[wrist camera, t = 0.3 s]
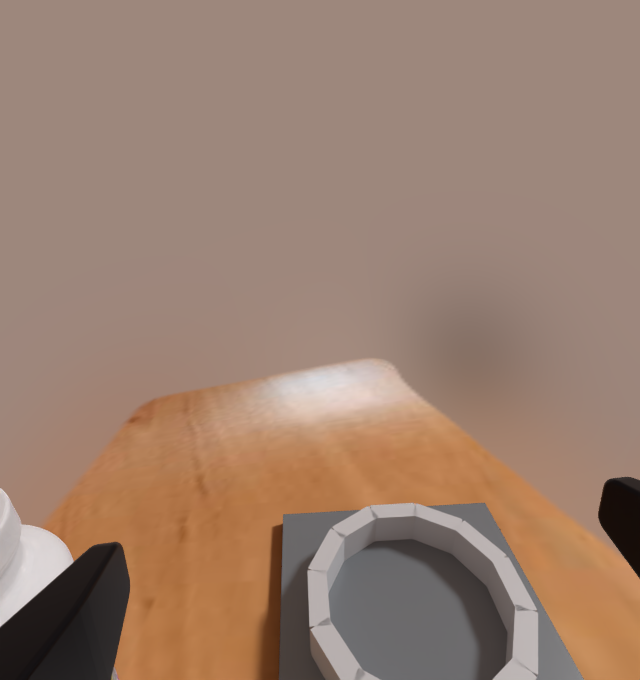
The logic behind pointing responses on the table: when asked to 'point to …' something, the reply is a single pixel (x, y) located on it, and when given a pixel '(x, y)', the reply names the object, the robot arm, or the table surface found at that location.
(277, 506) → the table surface
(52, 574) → the supplement bottle
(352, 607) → the socket plate
